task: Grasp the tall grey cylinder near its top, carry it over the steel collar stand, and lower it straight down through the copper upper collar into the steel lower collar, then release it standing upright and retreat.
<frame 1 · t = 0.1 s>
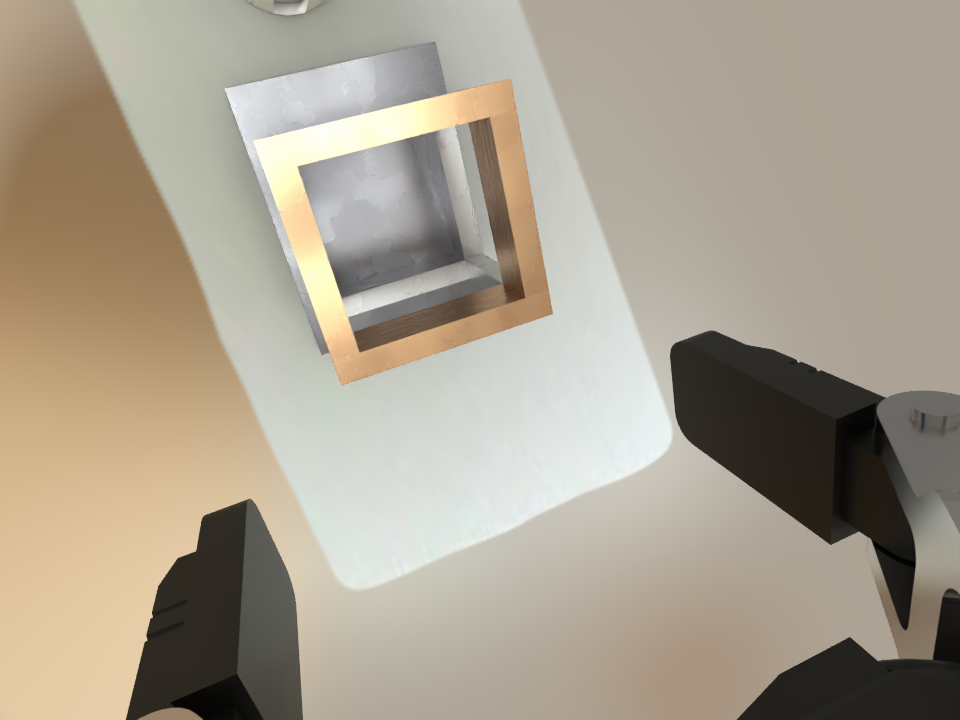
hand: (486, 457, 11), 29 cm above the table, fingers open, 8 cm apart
collar stand: (372, 205, 37), on the table
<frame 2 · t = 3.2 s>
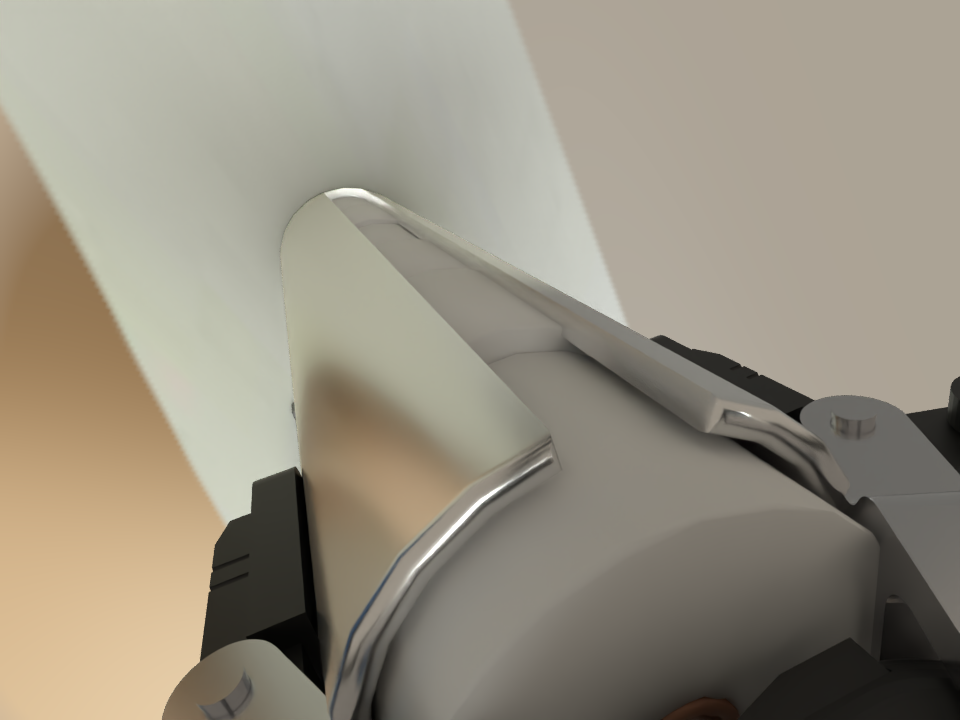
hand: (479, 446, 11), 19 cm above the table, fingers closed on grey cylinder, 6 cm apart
grey cylinder: (352, 258, 28), on the table, touching gripper
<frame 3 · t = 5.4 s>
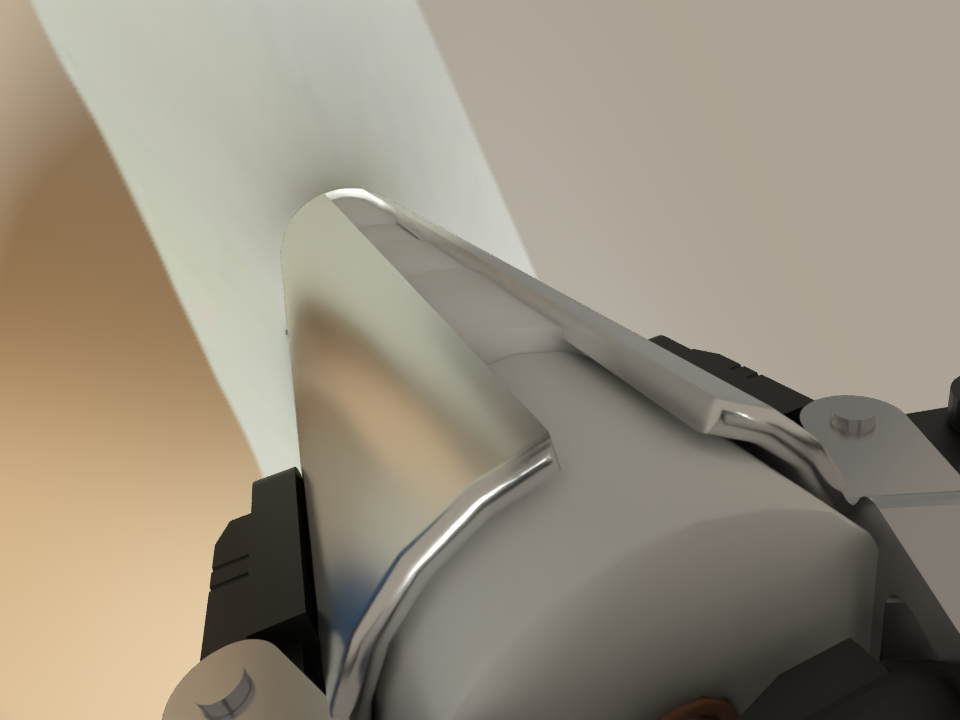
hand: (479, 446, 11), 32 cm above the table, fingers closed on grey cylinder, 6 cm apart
grey cylinder: (352, 258, 28), point 13 cm above the table, touching gripper
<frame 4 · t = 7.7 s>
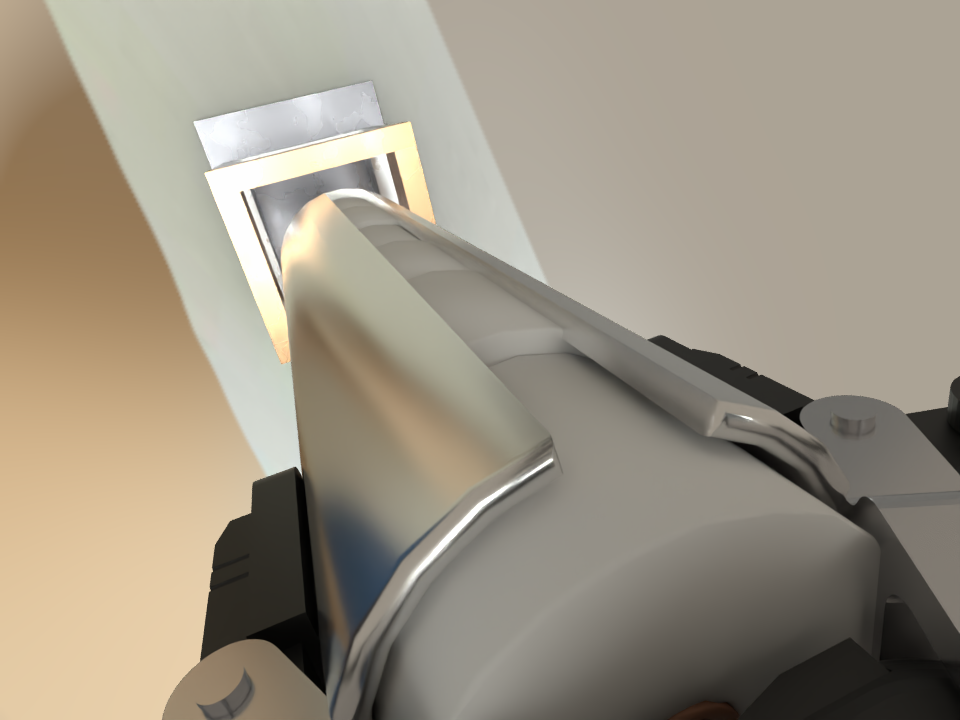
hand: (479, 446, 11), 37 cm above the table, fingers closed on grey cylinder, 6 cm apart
grey cylinder: (352, 258, 28), point 18 cm above the table, touching gripper
collar stand: (323, 216, 44), on the table
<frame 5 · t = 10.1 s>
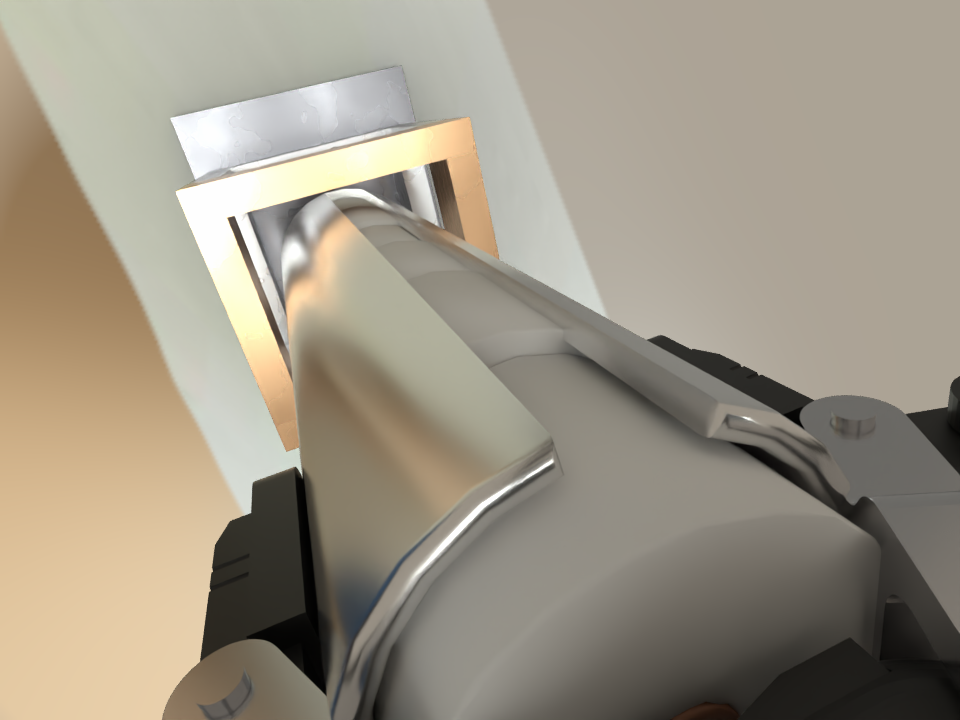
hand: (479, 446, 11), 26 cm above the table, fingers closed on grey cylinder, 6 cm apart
grey cylinder: (352, 259, 28), point 7 cm above the table, touching gripper
collar stand: (337, 238, 35), on the table
when the fingers open (21 cm above the table, at t = 12.2 s): grey cylinder stays where it is, resting on collar stand.
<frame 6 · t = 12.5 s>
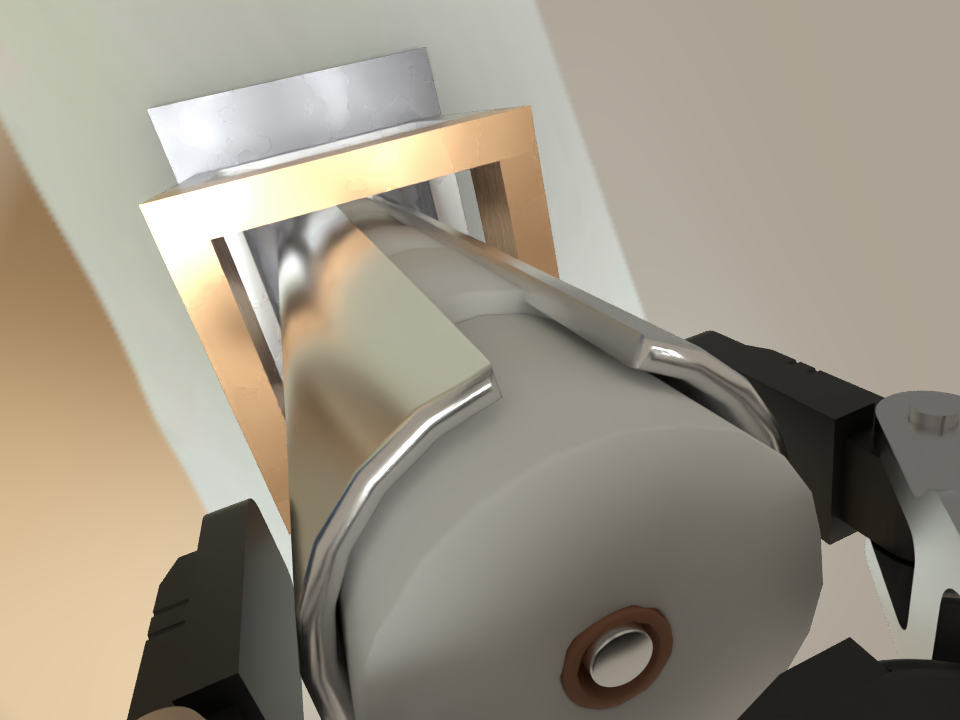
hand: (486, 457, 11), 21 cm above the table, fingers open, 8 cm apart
grey cylinder: (347, 252, 29), point 1 cm above the table, touching collar stand
collar stand: (347, 252, 29), on the table
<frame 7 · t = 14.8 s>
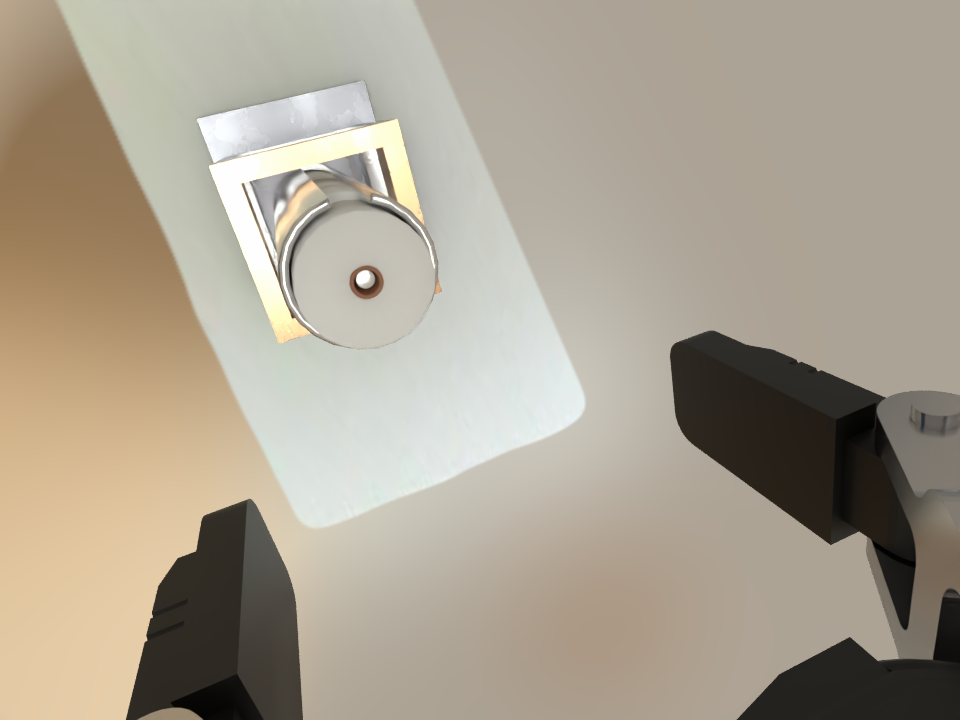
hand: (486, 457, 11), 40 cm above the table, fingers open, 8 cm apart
grey cylinder: (317, 208, 45), point 1 cm above the table, touching collar stand
collar stand: (318, 208, 46), on the table
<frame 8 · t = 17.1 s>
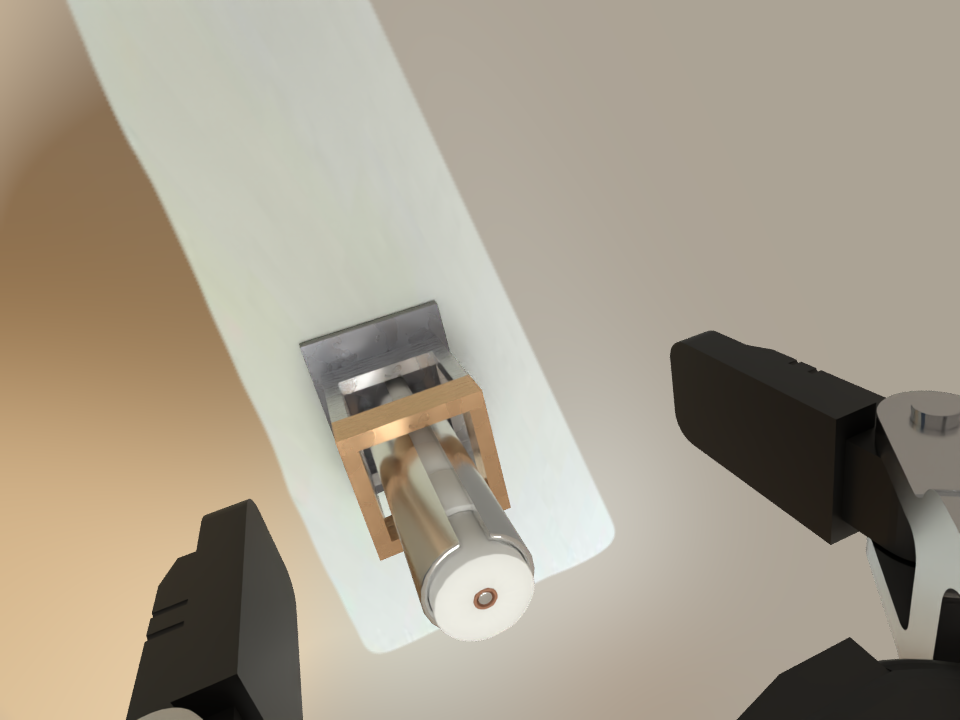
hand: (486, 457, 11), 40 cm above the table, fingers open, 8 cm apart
grey cylinder: (394, 403, 53), point 1 cm above the table, touching collar stand
collar stand: (394, 401, 54), on the table
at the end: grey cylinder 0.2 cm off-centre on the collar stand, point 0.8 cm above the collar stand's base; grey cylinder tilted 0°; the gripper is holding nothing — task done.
